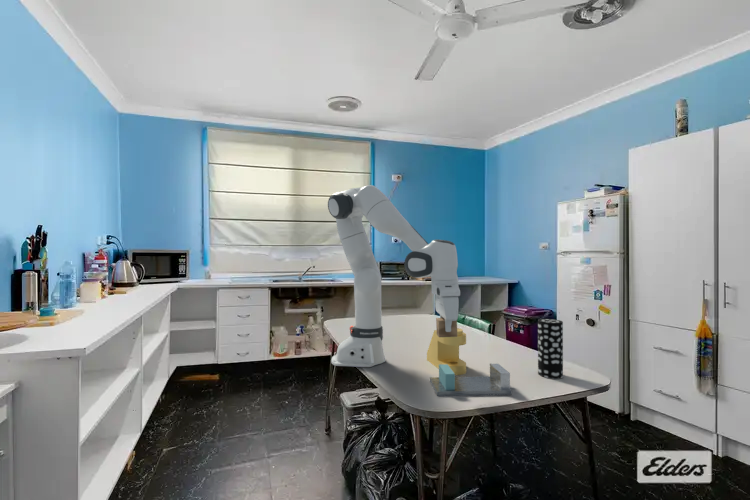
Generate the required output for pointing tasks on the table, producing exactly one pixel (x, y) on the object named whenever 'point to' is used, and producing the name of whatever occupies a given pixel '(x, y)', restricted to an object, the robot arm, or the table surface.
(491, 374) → the vise
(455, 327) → the block
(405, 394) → the table surface
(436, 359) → the clamp
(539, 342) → the white-spotted black cylinder
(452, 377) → the block
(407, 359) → the table surface
